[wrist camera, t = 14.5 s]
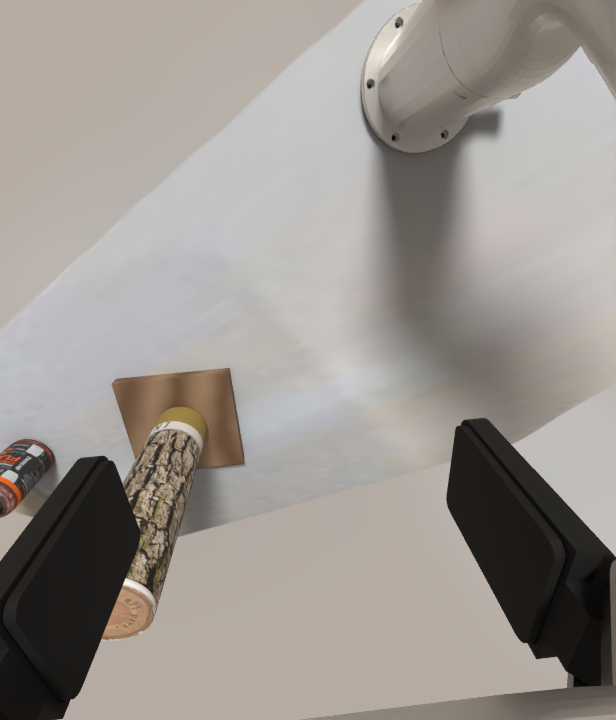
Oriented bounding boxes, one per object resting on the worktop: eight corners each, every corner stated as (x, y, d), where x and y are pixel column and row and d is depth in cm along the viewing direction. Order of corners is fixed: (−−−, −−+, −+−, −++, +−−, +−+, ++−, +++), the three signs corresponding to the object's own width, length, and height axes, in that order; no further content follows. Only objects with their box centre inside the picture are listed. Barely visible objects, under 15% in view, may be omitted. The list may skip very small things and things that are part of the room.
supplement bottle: (38, 431, 50) (-24, 491, 39) (64, 463, 52) (12, 527, 42) (-1, 445, 50) (-72, 508, 39) (27, 476, 52) (-34, 543, 42)
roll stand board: (229, 368, 48) (228, 372, 47) (244, 456, 54) (243, 463, 53) (116, 379, 48) (111, 384, 46) (143, 468, 54) (140, 474, 52)
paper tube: (215, 414, 49) (167, 594, 27) (197, 451, 51) (138, 647, 29) (167, 396, 48) (71, 573, 25) (150, 435, 50) (47, 631, 27)
